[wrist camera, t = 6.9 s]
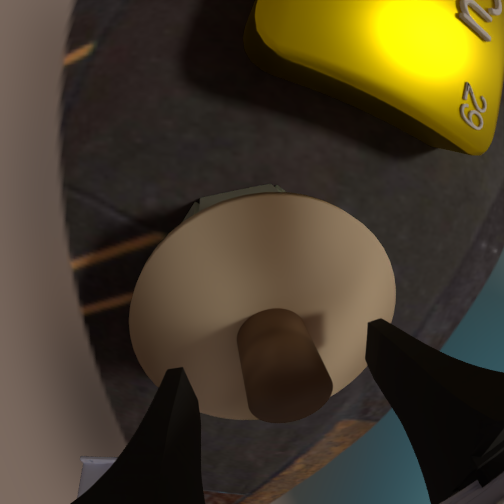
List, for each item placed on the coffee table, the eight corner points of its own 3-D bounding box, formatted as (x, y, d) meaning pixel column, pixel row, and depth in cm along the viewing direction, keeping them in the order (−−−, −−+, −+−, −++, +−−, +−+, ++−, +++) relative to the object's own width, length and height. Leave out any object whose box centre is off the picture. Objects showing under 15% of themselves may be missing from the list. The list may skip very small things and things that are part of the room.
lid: (181, 423, 16) (182, 485, 12) (92, 231, 11) (44, 285, 7) (378, 375, 16) (410, 426, 12) (387, 170, 11) (458, 196, 8)
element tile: (299, -101, 9) (321, -137, 4) (471, -2, 12) (512, -11, 8) (231, 65, 14) (242, 41, 9) (444, 156, 17) (494, 170, 13)
